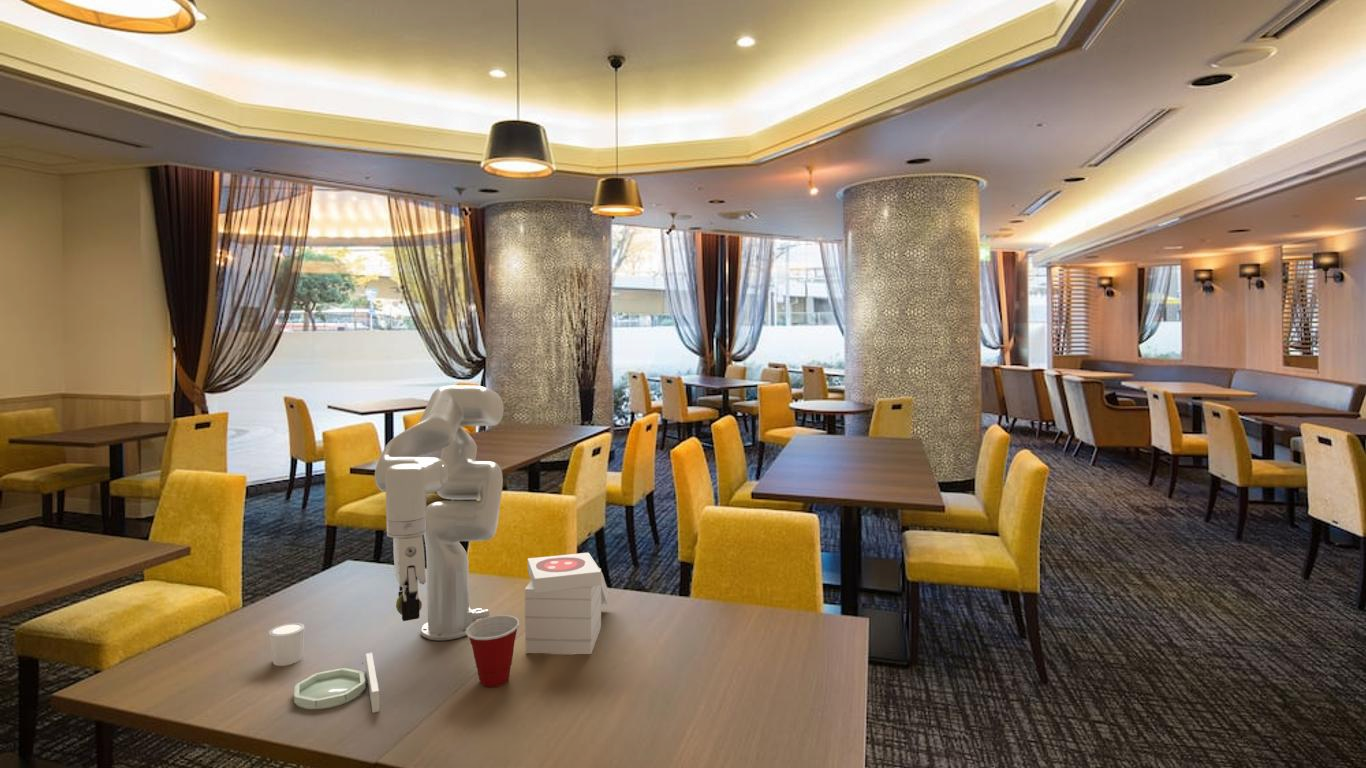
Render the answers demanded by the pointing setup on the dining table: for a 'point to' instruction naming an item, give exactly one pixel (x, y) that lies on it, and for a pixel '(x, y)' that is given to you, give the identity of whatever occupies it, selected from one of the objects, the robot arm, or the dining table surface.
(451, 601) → the robot arm
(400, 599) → the lime
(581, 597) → the pizza boxes
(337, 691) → the dish
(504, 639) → the plastic cup
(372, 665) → the fence
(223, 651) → the dining table surface
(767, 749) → the dining table surface
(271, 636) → the white cylinder
